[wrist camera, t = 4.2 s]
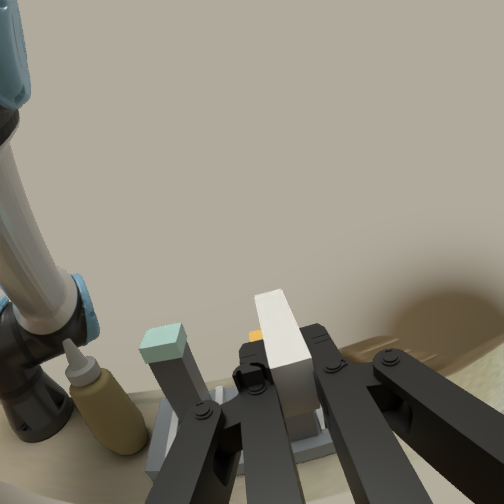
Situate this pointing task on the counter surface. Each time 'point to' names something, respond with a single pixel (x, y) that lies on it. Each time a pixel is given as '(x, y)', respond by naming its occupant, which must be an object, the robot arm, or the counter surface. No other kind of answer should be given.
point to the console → (302, 450)
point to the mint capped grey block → (174, 367)
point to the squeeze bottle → (104, 403)
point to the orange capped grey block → (297, 424)
